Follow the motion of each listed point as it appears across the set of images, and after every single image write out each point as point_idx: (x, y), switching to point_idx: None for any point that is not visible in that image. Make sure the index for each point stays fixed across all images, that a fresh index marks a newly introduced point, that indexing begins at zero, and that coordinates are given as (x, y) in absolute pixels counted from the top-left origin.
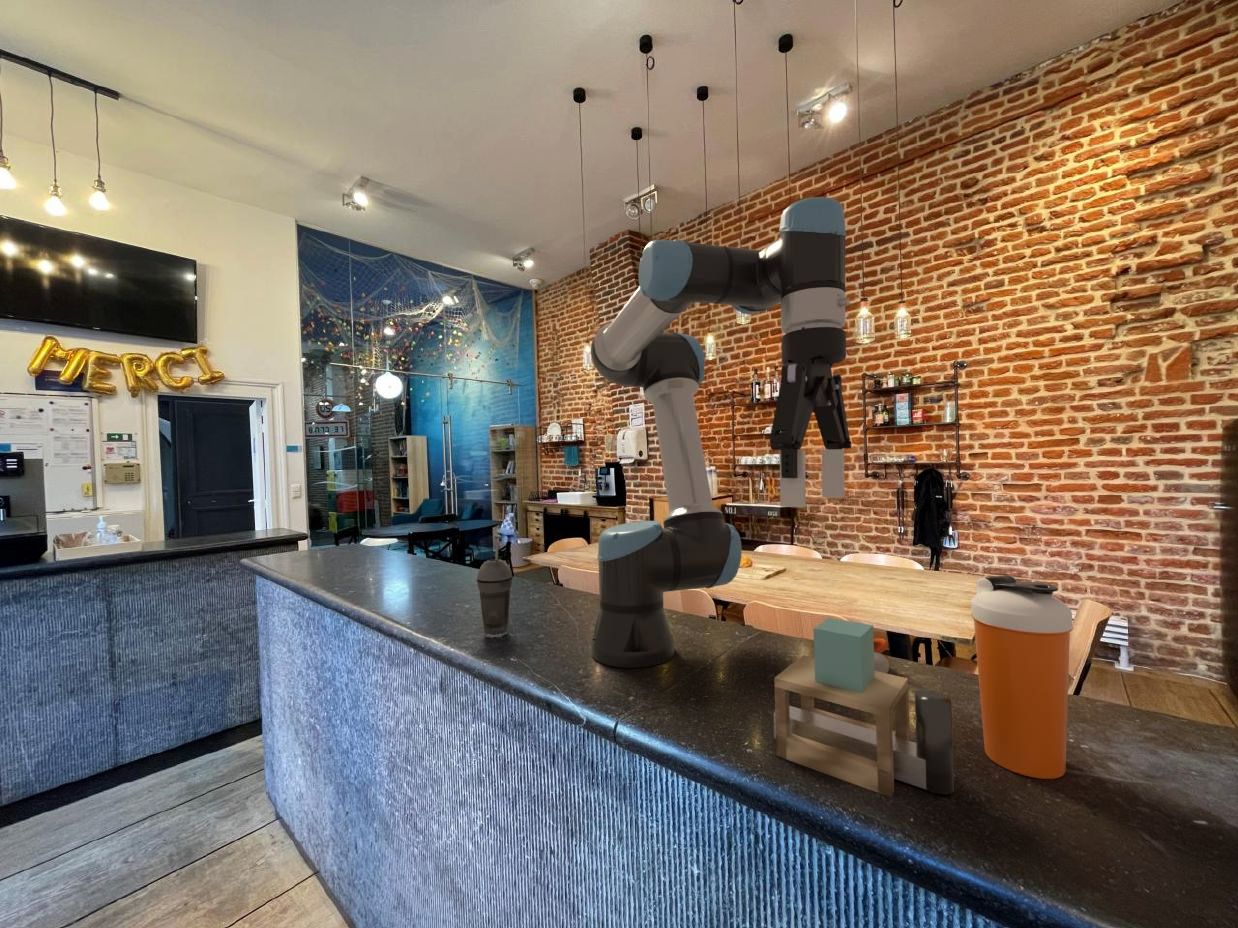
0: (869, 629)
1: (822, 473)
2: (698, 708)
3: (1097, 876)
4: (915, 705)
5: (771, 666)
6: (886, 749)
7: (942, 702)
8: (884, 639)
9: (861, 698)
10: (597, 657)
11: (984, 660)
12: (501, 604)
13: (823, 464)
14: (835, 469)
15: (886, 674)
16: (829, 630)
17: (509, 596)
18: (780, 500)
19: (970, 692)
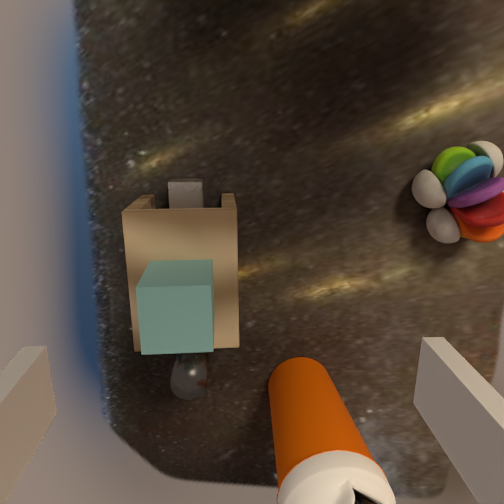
0: (192, 351)
1: (471, 397)
2: (180, 46)
3: (156, 430)
4: (182, 362)
5: (395, 69)
6: None
7: (179, 394)
8: (497, 237)
9: (138, 322)
10: None
11: (292, 428)
12: None
13: (498, 432)
14: (474, 461)
15: (235, 324)
16: (143, 309)
17: None
18: (14, 357)
19: (444, 325)
